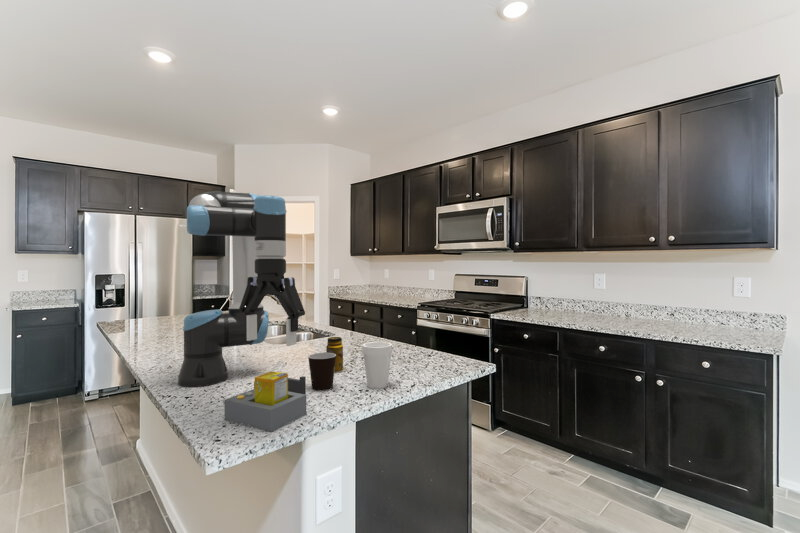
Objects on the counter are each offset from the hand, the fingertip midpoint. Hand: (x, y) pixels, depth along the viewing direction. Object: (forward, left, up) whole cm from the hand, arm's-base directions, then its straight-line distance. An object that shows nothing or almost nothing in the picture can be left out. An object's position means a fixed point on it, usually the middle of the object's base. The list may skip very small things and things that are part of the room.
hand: (271, 342), depth 98 cm
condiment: (-14, +43, -19) cm, 49 cm away
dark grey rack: (-10, +13, -19) cm, 25 cm away
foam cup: (+10, +35, -19) cm, 41 cm away
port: (-2, 0, -19) cm, 19 cm away
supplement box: (0, 0, -19) cm, 19 cm away
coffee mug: (-5, +27, -19) cm, 33 cm away
